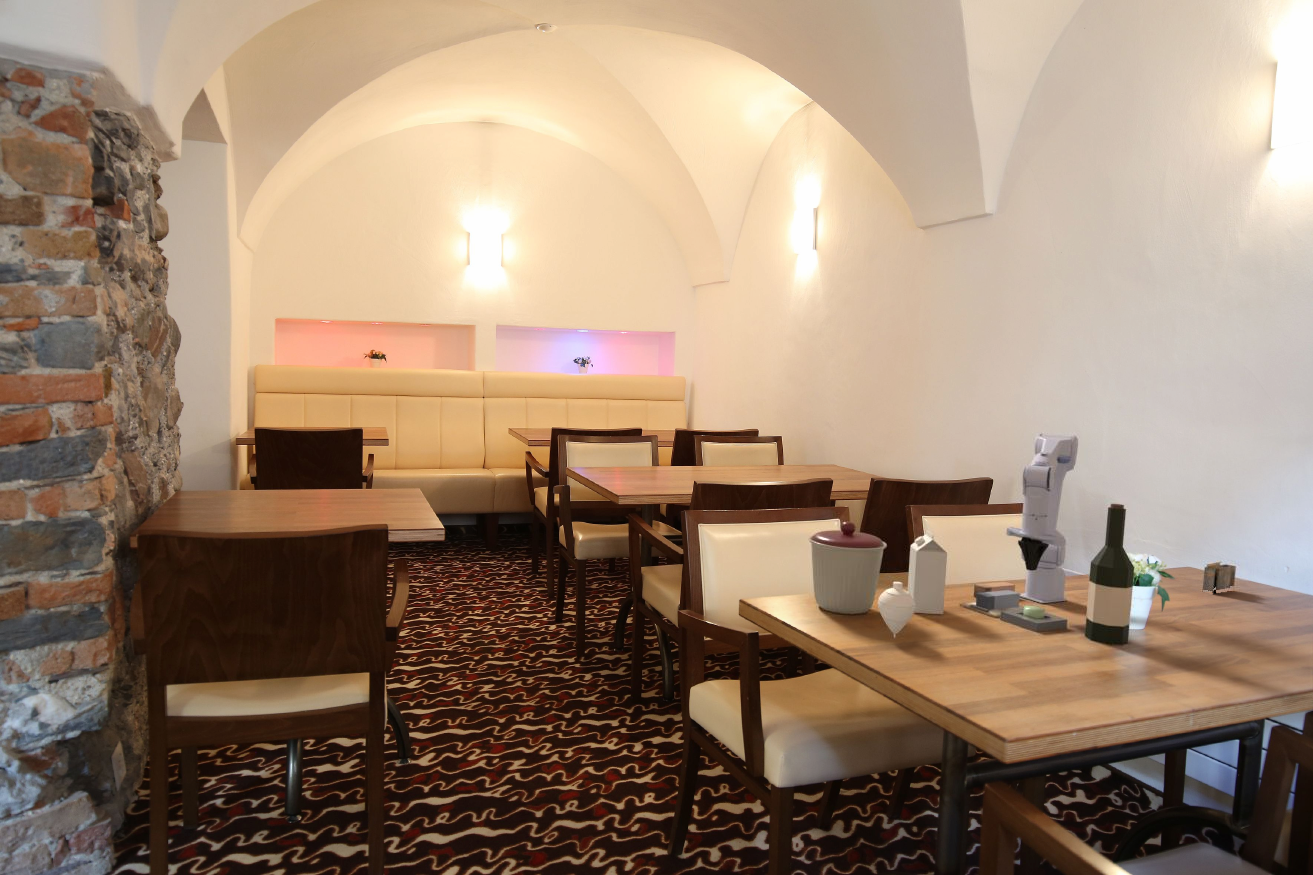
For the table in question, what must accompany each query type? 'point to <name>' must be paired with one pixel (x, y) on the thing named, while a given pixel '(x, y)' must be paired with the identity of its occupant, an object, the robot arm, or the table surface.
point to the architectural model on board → (1218, 576)
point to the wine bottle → (1110, 585)
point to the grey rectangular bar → (998, 599)
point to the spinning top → (896, 607)
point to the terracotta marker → (993, 587)
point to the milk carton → (927, 575)
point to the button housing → (1033, 621)
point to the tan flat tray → (991, 613)
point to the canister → (846, 569)
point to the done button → (1034, 612)
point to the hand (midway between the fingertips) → (1031, 569)
